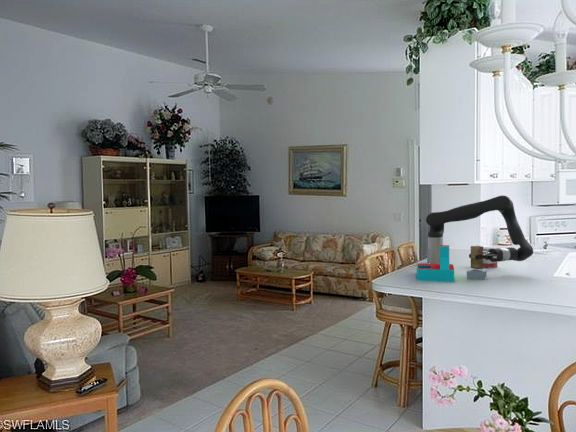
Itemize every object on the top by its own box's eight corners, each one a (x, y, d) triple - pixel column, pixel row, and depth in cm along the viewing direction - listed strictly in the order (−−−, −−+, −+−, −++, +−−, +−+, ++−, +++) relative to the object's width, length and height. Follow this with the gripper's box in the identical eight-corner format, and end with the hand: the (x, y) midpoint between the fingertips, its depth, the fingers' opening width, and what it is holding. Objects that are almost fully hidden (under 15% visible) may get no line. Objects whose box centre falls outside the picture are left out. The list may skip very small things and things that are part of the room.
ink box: (497, 267, 289) (498, 247, 288) (487, 268, 286) (487, 248, 285) (487, 265, 297) (487, 246, 296) (476, 266, 294) (476, 247, 293)
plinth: (466, 278, 255) (466, 271, 255) (469, 275, 263) (469, 268, 262) (484, 279, 251) (484, 272, 250) (486, 276, 258) (486, 269, 258)
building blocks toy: (452, 274, 270) (452, 242, 269) (454, 282, 246) (454, 247, 245) (418, 273, 276) (418, 241, 275) (416, 281, 252) (416, 247, 251)
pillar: (476, 269, 254) (476, 247, 253) (470, 268, 258) (470, 246, 257) (483, 268, 255) (483, 246, 254) (477, 267, 259) (477, 245, 258)
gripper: (490, 246, 267) (464, 248, 262) (508, 249, 253) (481, 251, 248) (490, 259, 267) (464, 261, 262) (508, 263, 253) (481, 265, 249)
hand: (472, 256), depth 255 cm, fingers closed on pillar, 4 cm apart
